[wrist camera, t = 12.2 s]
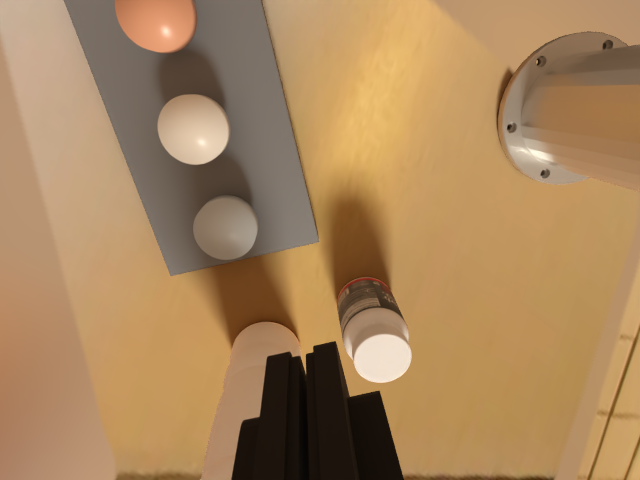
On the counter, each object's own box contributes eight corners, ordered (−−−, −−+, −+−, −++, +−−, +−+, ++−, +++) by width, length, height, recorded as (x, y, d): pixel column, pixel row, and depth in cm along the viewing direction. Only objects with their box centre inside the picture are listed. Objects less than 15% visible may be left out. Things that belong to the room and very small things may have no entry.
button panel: (247, -57, 31) (242, -73, 28) (318, 234, 39) (319, 247, 36) (70, -12, 32) (46, -24, 29) (176, 267, 40) (166, 282, 37)
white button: (219, 87, 31) (214, 87, 29) (238, 152, 33) (235, 156, 31) (155, 102, 31) (147, 103, 30) (177, 167, 33) (171, 171, 31)
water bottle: (268, 305, 42) (228, 582, 18) (314, 349, 44) (333, 649, 20) (219, 346, 43) (122, 653, 19) (266, 387, 45) (230, 709, 21)
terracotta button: (184, -34, 28) (176, -42, 27) (206, 44, 30) (201, 41, 28) (114, -17, 28) (102, -23, 27) (140, 60, 30) (131, 58, 28)
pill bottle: (400, 311, 43) (428, 373, 33) (349, 332, 43) (364, 399, 34) (379, 265, 41) (403, 317, 31) (327, 288, 41) (335, 346, 32)
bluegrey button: (249, 189, 34) (246, 194, 32) (265, 244, 35) (263, 252, 34) (190, 202, 34) (184, 208, 32) (209, 257, 36) (204, 265, 34)
